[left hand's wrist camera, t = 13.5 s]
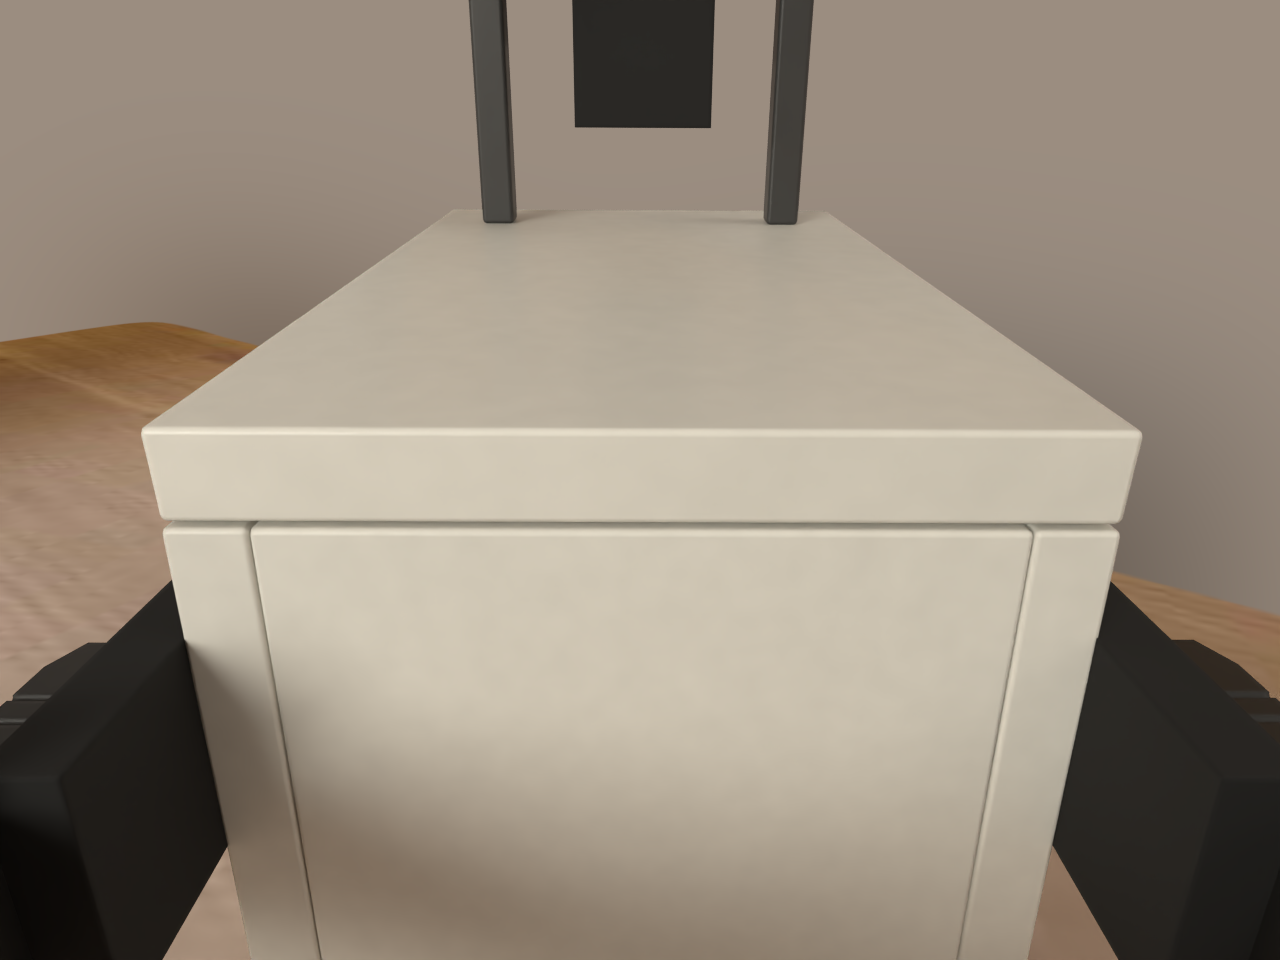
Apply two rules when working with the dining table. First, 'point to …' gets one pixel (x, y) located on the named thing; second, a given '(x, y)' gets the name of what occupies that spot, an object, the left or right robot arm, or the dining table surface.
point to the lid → (641, 372)
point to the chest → (639, 733)
